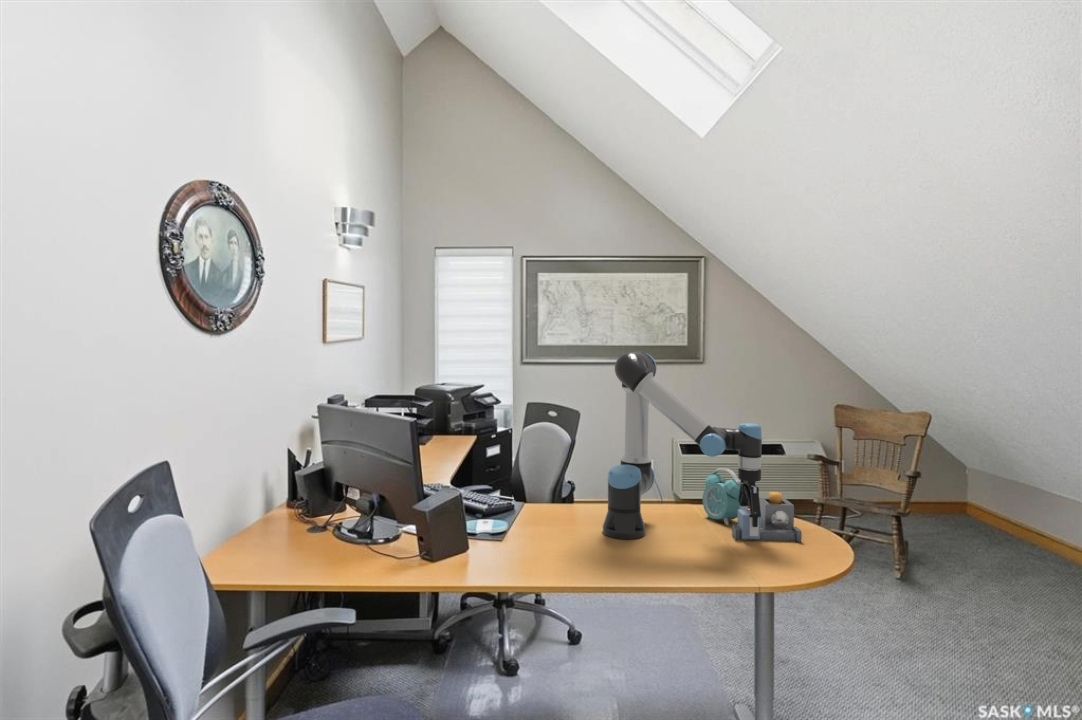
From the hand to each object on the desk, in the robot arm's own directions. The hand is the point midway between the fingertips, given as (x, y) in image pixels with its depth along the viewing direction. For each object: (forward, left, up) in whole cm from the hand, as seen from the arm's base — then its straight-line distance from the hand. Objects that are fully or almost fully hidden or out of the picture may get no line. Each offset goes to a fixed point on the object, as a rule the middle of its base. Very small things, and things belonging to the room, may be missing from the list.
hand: (748, 529), depth 208 cm
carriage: (0, 0, -3) cm, 3 cm away
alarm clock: (-4, +22, -3) cm, 23 cm away
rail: (+6, 0, -3) cm, 7 cm away
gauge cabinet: (+13, +13, -3) cm, 19 cm away
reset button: (+13, +13, +6) cm, 19 cm away
